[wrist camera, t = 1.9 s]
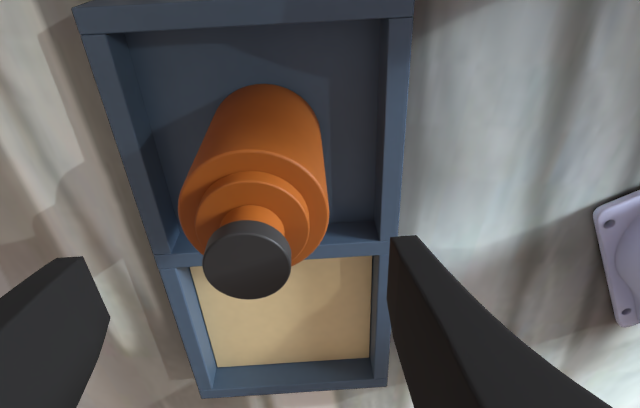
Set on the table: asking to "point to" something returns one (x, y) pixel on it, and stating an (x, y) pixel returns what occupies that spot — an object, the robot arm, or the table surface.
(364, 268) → the tray
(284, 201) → the bottle
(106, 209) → the table surface
